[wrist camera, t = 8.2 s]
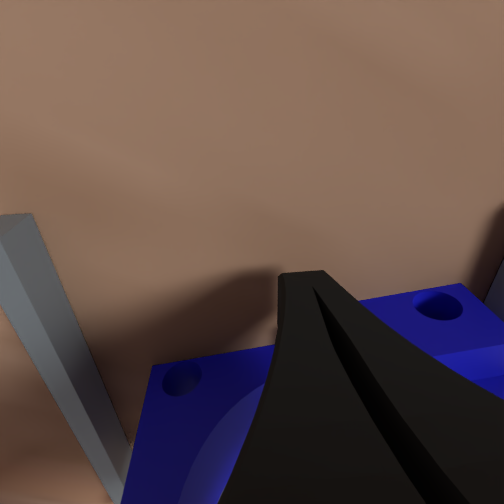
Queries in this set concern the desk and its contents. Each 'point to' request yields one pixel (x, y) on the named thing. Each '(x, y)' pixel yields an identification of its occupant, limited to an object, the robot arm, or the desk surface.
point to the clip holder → (79, 346)
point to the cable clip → (252, 383)
